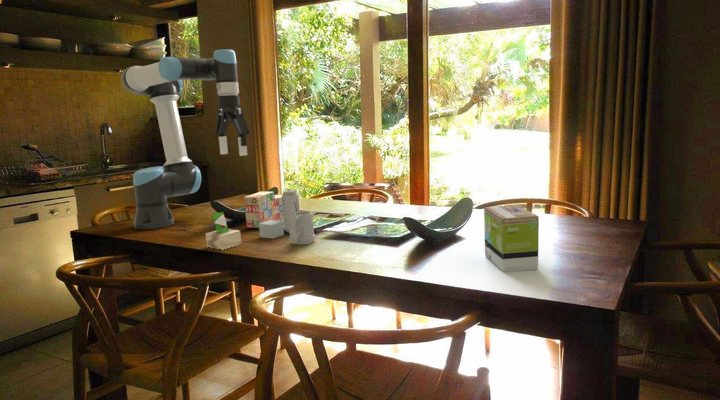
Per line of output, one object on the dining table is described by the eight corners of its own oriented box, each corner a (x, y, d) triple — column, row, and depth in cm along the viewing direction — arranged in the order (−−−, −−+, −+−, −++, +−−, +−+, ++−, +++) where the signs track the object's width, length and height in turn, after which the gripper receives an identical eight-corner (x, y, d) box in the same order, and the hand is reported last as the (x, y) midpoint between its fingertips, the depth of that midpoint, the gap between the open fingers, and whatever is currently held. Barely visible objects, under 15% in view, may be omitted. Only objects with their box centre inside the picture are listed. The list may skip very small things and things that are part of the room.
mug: (319, 239, 176) (317, 205, 174) (302, 248, 165) (299, 212, 163) (300, 238, 179) (297, 204, 177) (281, 247, 168) (279, 211, 166)
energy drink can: (296, 233, 187) (293, 192, 184) (281, 232, 188) (278, 192, 186) (303, 229, 192) (300, 189, 189) (288, 228, 194) (286, 189, 191)
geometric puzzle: (203, 225, 174) (208, 208, 169) (221, 221, 179) (227, 205, 174) (213, 240, 171) (218, 223, 166) (231, 236, 175) (237, 219, 171)
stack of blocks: (274, 216, 219) (272, 187, 217) (287, 216, 217) (285, 187, 214) (246, 227, 199) (243, 196, 197) (260, 228, 197) (257, 196, 195)
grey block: (260, 237, 183) (259, 223, 182) (270, 233, 188) (269, 220, 187) (273, 238, 180) (272, 224, 179) (284, 234, 185) (283, 221, 184)
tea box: (483, 256, 148) (483, 206, 146) (517, 254, 149) (517, 204, 147) (501, 273, 134) (502, 217, 131) (539, 270, 134) (540, 214, 132)
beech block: (206, 248, 173) (205, 233, 172) (225, 242, 179) (224, 228, 178) (222, 251, 168) (221, 236, 167) (241, 245, 174) (240, 230, 174)
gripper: (202, 96, 190) (207, 154, 194) (237, 93, 172) (242, 157, 176) (220, 96, 195) (225, 152, 199) (256, 93, 177) (261, 155, 181)
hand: (233, 154), depth 187 cm, fingers open, 13 cm apart
